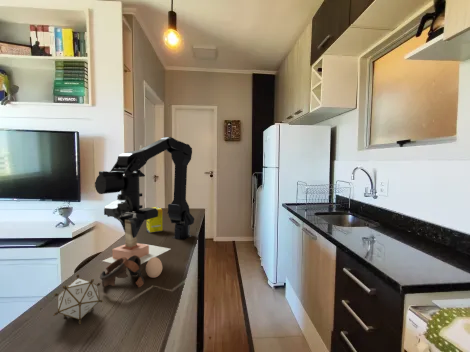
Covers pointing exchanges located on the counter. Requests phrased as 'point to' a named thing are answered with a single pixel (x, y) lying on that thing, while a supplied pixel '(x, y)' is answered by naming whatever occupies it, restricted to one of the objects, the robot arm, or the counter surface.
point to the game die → (78, 298)
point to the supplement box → (155, 222)
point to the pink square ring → (130, 251)
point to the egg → (154, 267)
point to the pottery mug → (122, 271)
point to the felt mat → (153, 252)
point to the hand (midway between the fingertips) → (131, 236)
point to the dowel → (129, 235)
